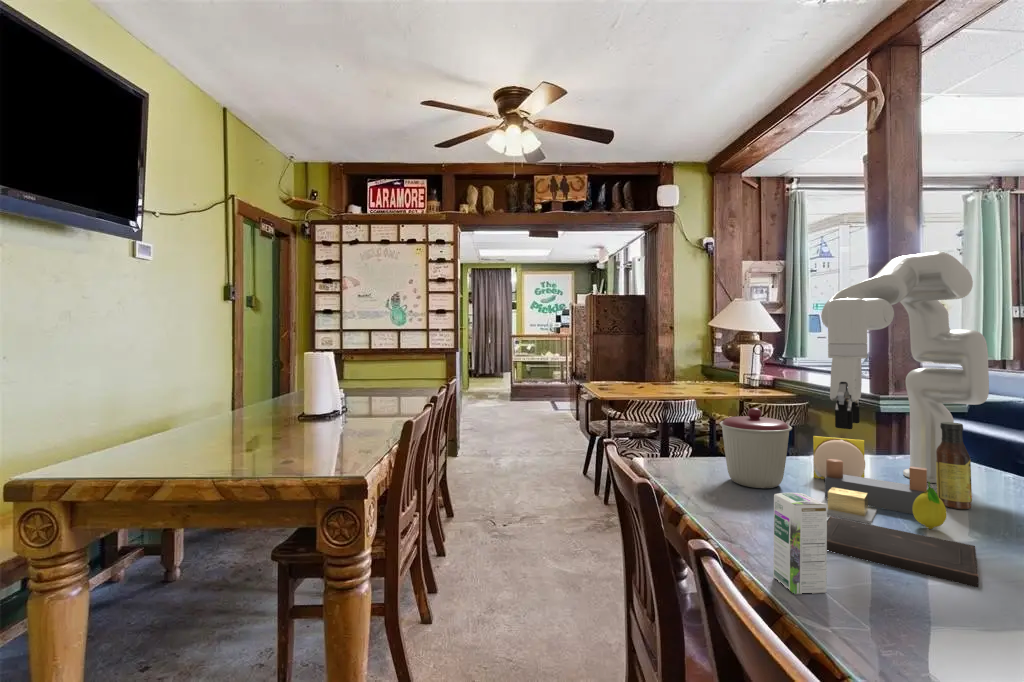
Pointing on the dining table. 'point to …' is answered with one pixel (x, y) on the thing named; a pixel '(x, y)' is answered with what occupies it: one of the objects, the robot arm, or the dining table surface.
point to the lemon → (929, 509)
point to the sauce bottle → (953, 468)
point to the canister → (755, 449)
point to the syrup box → (800, 543)
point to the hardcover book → (904, 550)
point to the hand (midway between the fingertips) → (847, 425)
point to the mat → (853, 515)
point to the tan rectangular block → (848, 501)
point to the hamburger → (838, 455)
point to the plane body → (879, 487)
